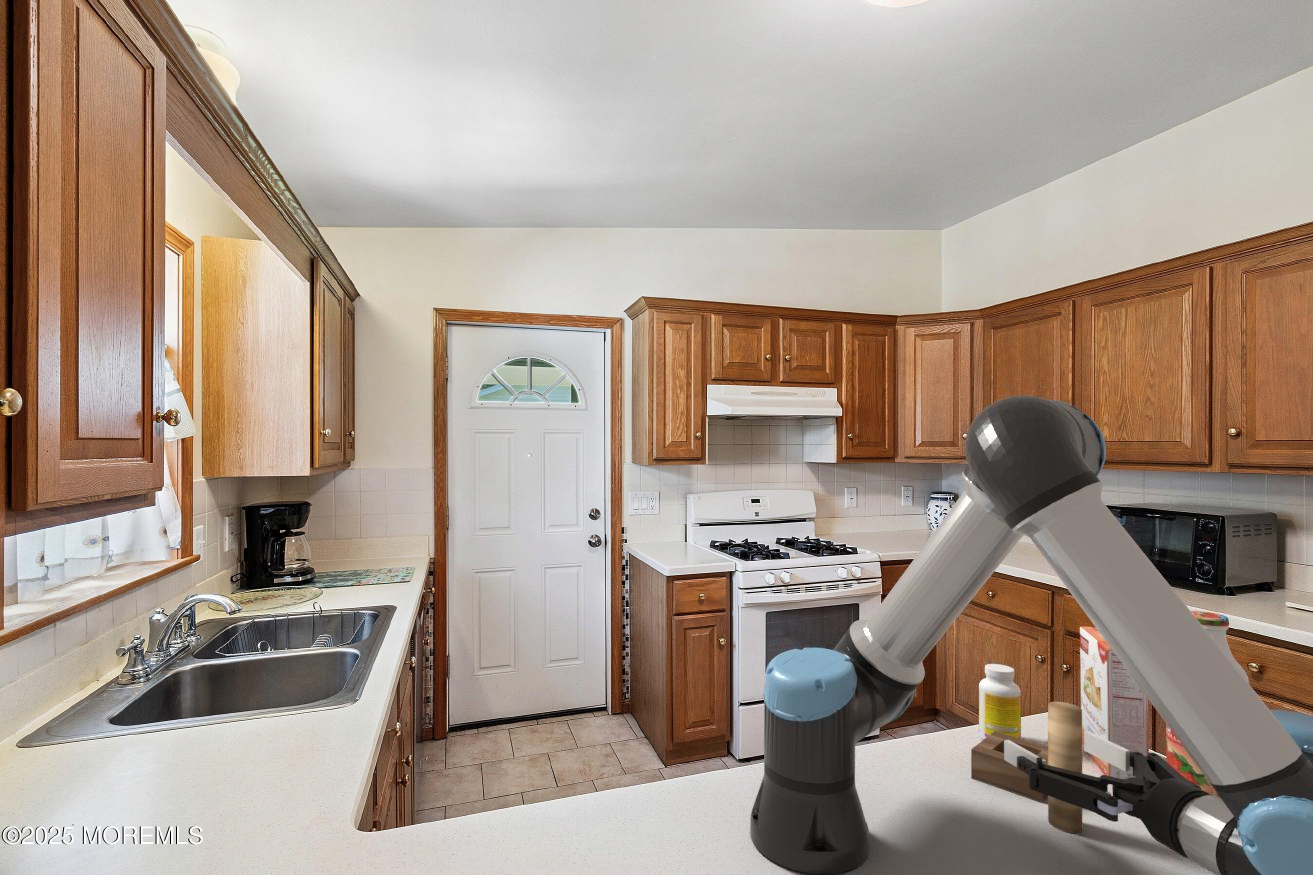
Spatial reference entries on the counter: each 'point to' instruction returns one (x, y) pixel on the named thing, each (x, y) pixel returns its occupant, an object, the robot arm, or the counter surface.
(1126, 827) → the counter surface
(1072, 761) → the dowel
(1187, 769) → the fruit juice
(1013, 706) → the supplement bottle
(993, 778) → the socket block
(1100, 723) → the cracker box
